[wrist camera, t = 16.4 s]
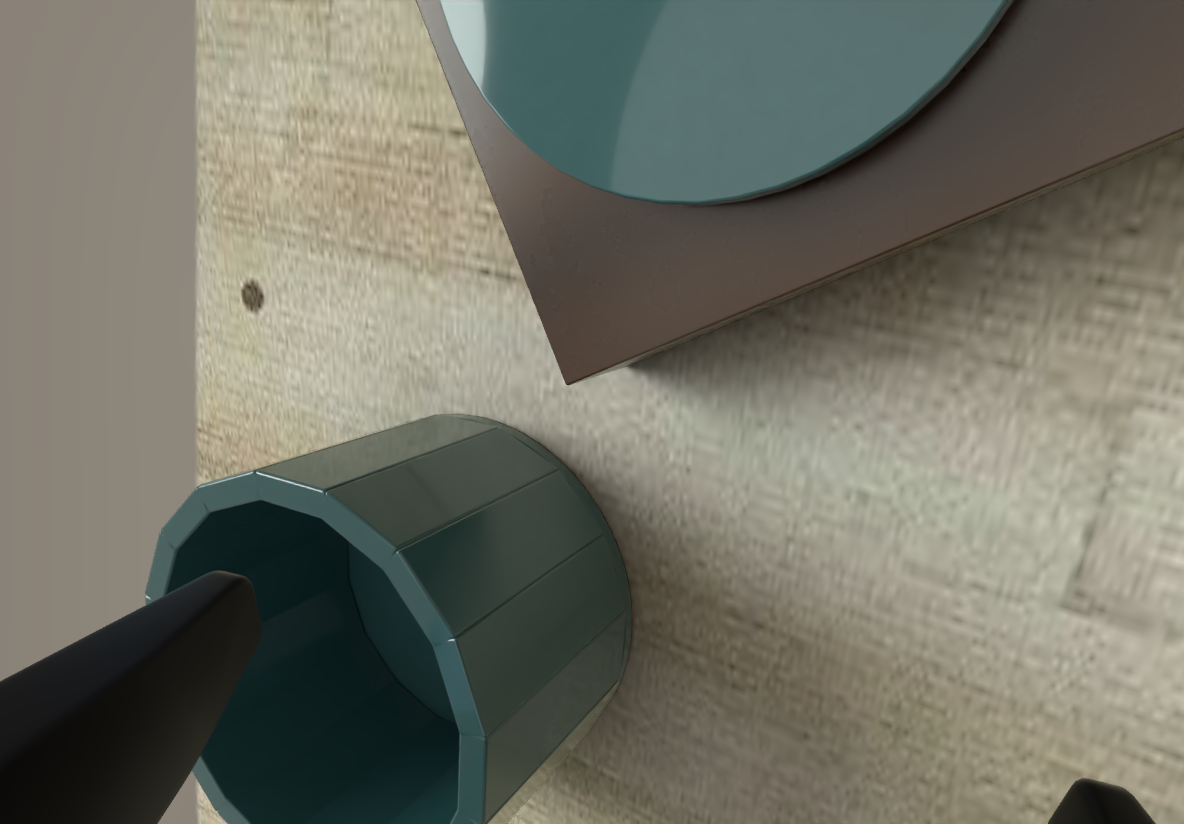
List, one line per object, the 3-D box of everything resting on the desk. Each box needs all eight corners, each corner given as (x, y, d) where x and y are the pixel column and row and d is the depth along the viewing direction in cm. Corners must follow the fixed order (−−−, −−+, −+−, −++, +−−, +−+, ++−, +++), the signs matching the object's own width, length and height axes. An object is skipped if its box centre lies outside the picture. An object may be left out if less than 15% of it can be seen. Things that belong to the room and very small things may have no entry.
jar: (697, 553, 21) (562, 683, 15) (543, 813, 25) (390, 996, 19) (402, 346, 24) (194, 384, 18) (310, 607, 28) (115, 708, 22)
